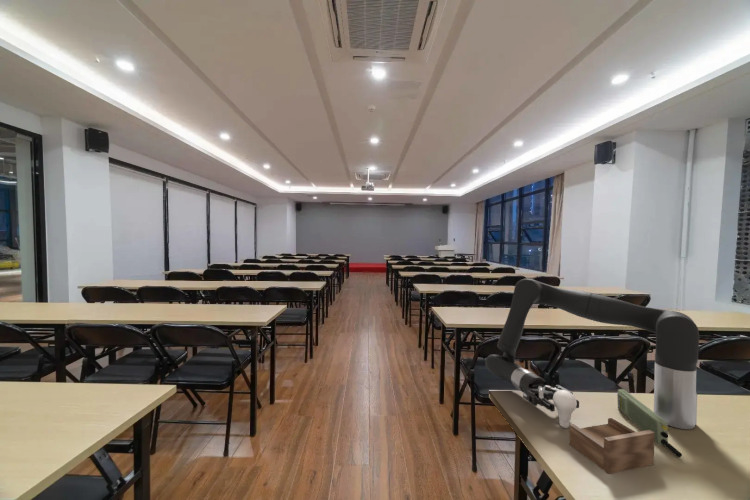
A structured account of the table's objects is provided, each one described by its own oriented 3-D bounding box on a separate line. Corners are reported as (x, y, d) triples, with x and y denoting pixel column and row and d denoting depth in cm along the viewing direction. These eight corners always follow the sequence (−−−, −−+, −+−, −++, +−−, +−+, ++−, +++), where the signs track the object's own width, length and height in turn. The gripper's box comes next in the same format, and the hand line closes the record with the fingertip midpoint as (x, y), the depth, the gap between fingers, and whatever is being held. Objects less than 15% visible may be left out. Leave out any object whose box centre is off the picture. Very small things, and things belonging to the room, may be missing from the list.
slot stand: (611, 437, 90) (611, 409, 90) (653, 464, 79) (654, 432, 79) (569, 444, 87) (569, 415, 86) (608, 473, 76) (608, 440, 76)
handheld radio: (627, 409, 105) (687, 460, 80) (616, 408, 106) (672, 459, 81) (626, 389, 105) (687, 434, 80) (615, 388, 106) (672, 434, 81)
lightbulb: (548, 426, 95) (549, 390, 95) (557, 419, 99) (558, 384, 99) (571, 436, 90) (571, 398, 90) (579, 428, 94) (580, 391, 94)
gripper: (510, 374, 108) (545, 396, 92) (546, 370, 111) (586, 391, 95) (509, 396, 108) (545, 422, 92) (545, 391, 111) (586, 416, 96)
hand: (566, 406), depth 94 cm, fingers open, 8 cm apart
